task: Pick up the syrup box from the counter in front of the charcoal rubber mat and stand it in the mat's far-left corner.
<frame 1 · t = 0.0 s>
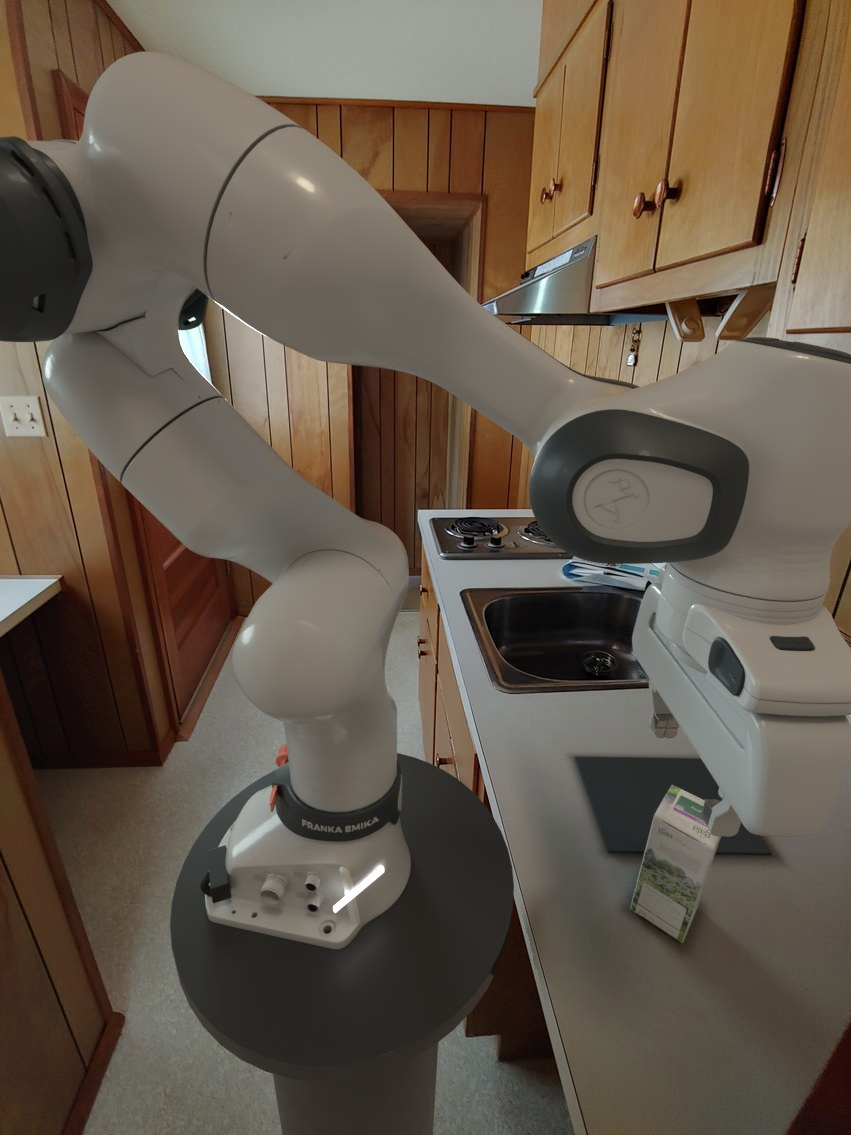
hand: (686, 775, 41), 28 cm above the worktop, tool pointing down, fingers open, 8 cm apart
syrup box: (663, 910, 60), on the worktop
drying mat: (663, 802, 74), on the worktop
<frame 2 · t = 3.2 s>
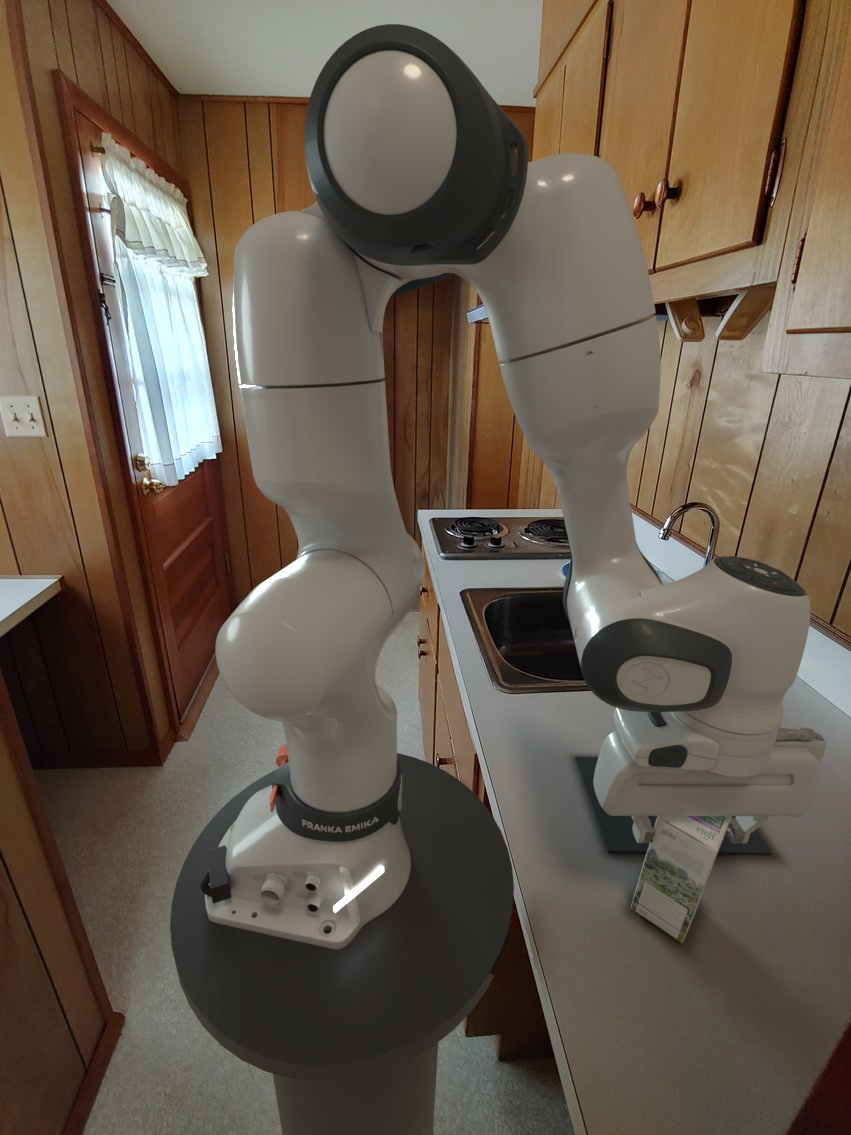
hand: (688, 837, 56), 11 cm above the worktop, tool pointing down, fingers open, 8 cm apart
nothing on the worktop moved.
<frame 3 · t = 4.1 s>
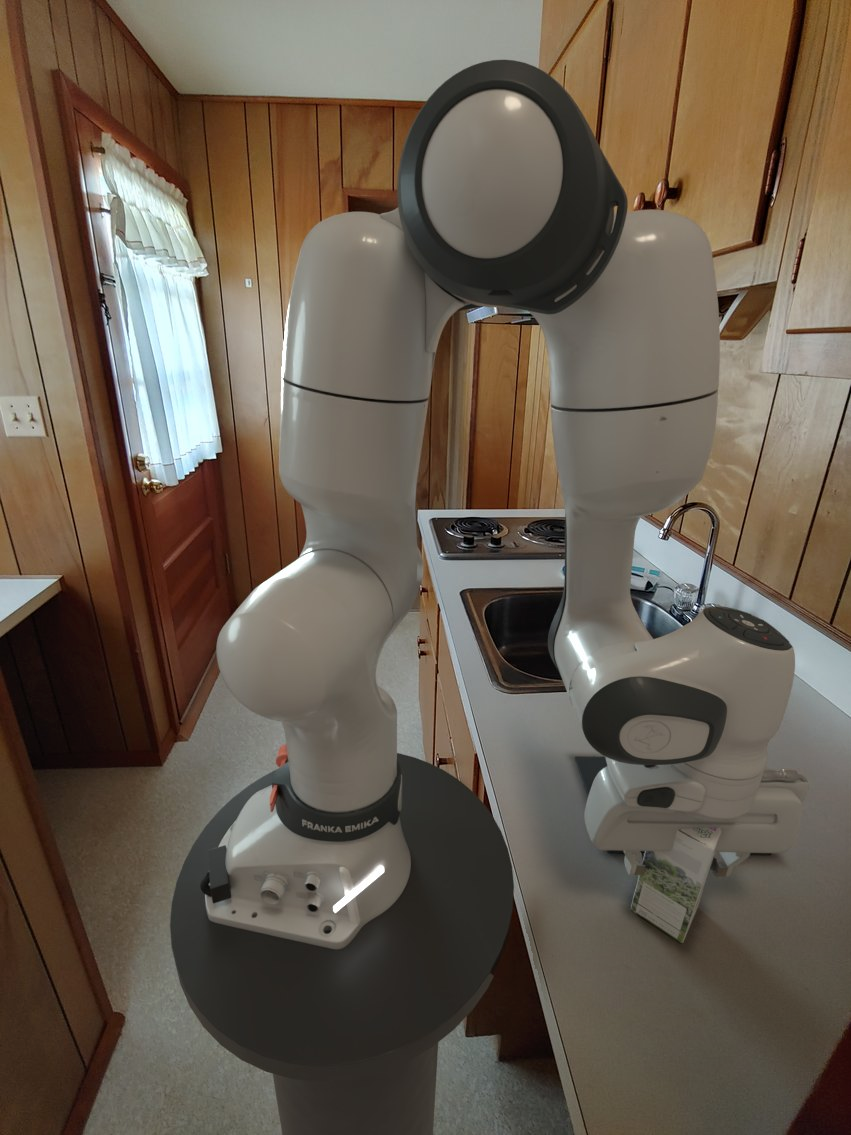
hand: (675, 870, 58), 6 cm above the worktop, tool pointing down, fingers closed on syrup box, 7 cm apart
syrup box: (663, 910, 60), on the worktop, touching gripper
when the fingers open (6 cm above the worktop, at t = 12.2 s): syrup box stays where it is, resting on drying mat.
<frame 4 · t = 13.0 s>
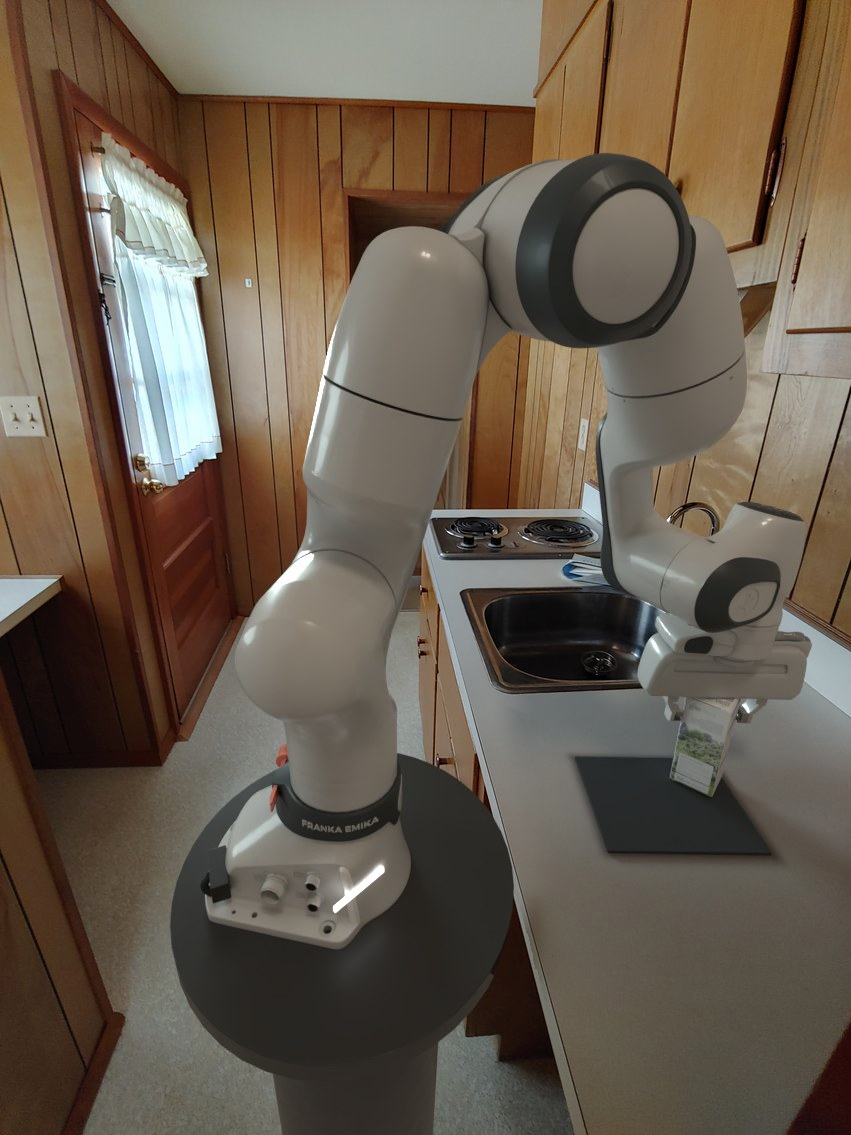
hand: (706, 719, 74), 10 cm above the worktop, tool pointing down, fingers open, 8 cm apart
syrup box: (695, 779, 78), resting on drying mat, touching gripper
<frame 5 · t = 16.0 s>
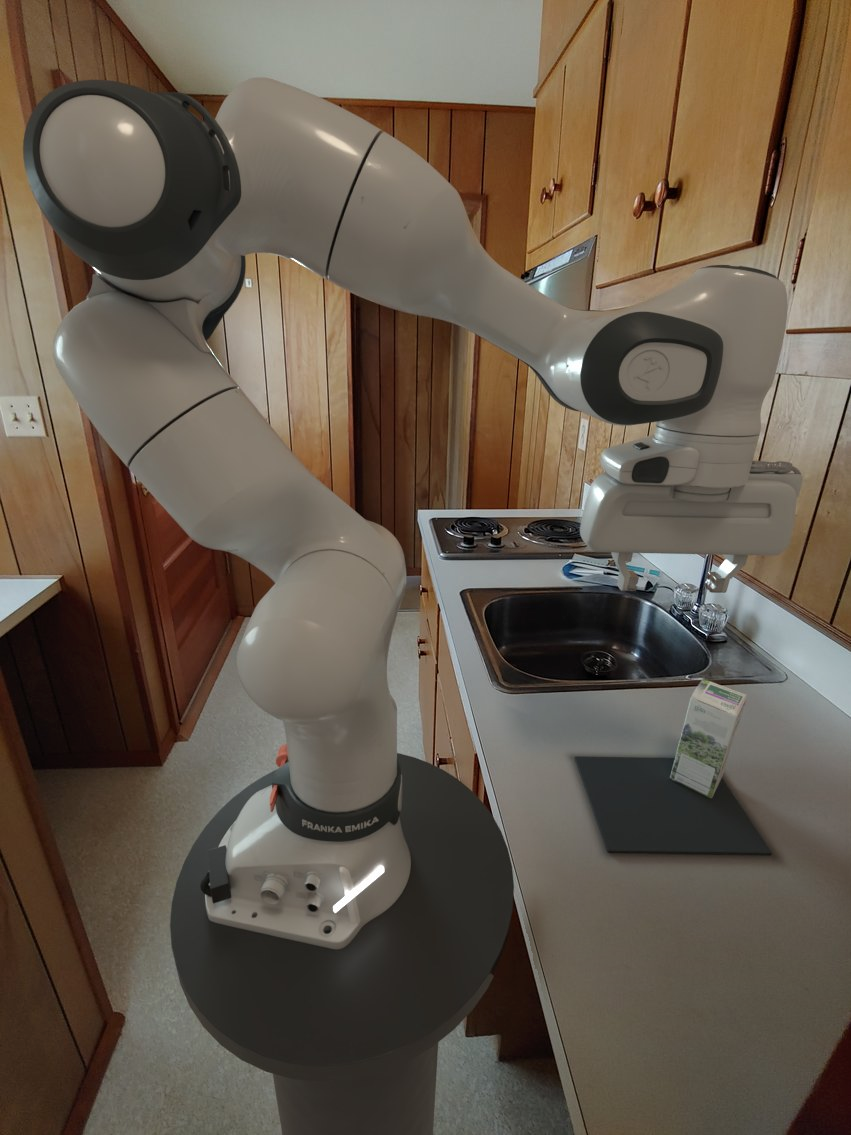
hand: (670, 589, 58), 33 cm above the worktop, tool pointing down, fingers open, 8 cm apart
syrup box: (695, 779, 78), resting on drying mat
at the end: syrup box 0.1 cm from the target spot, resting on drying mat; syrup box tilted 0°; the gripper is holding nothing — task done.
